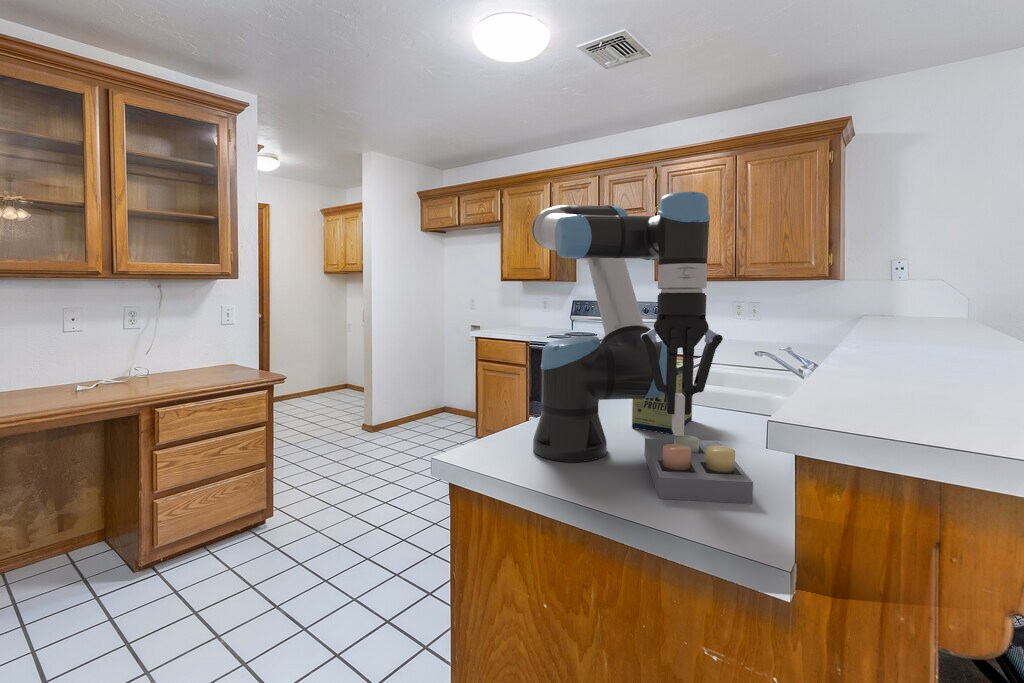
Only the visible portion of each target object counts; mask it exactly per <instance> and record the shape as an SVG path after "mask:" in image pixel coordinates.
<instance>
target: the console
mask: <svg viewBox="0 0 1024 683" xmlns="http://www.w3.org/2000/svg"><path fill="white" fill-rule="evenodd" d="M666 444H674V439H673V438H656V437H655V438H650V437H644V450H643V451H644V453H643V454H644V458H645V461H646V464H647V467H648V470H649V473H650V476H651V479H652V483H653V484H654V485H653V486H654V487H655V491H656V495H657V497H658V500H659V499H660V500H661V499H662V500H676V501H677V500H678V501H694V502H695V501H696V502H710V503H711V502H715V503H731V504H746V505H748V504H749V505H750V504H751V505H752V504H753V494H754V493H753V492H754V491H753V490H754V489H753V488H754V482H753V481H752V479H751V478H750V476H749V475H748V474H747V473H746V472H745V471H744V469H743V468H742V467H741V466H740V465H739V463H737V461H736V460H735V469H734V471H731V472H719V471H714V470H711V469H709V468H707V467H706V449H707V447H708V446H714V445H717V446H723V445H722V444H721V443H720V441H719V440H702V439H701V440H700V439H699V453H691V459H690V468H689V469H685V470H675V469H670V468H667V467H665V466H664V465H663V446H664V445H666Z"/></svg>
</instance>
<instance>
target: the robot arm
mask: <svg viewBox="0 0 1024 683" xmlns="http://www.w3.org/2000/svg"><path fill="white" fill-rule="evenodd" d="M709 202H710V201H709V196H708V195H707V194H706V193H704V192H699V191H679V192H677V191H676V192H672V193H668V194H667V193H666V194H665V195H663V196H662V197H661V199H660V202H659V209H658V212H657V213H658V214H657V215H629V214H628V212H627V211H626V210H625V209H624V208H623V207H622V206H618V205H610V204H603V205H590V204H589V205H586V204H584V205H583V204H581V205H579V204H574V205H573V204H572V205H571V204H559V205H554V206H550V207H548V208H546V209H543V210H542V211H540V212H539V213H538V214H537V215H536V216H535V218H534V220H533V222H532V224H531V225H532V227H531V233H532V237H533V239H534V241H535V242H536V244H537V245H539V246H540V247H541V248H543V249H546V250H550V251H555V252H556V254H557V256H559V257H560V258H563V259H573V260H581V261H583V263H585V264H586V265H588V267H589V273H590V276H591V280H592V284H593V289H594V293H595V297H596V301H597V302H596V303H597V305H598V311H599V314H600V319H601V323H602V326H603V331H604V336H603V337H602V338H601V340H600V338H599V337H597V336H591V335H587V336H586V335H585V336H574V337H565V338H560V339H556V340H552V341H550V342H548V343H546V344H545V345H544V346H543V348H542V353H541V363H540V369H541V414H540V417H539V420H538V423H537V426H536V429H535V432H534V436H533V440H532V441H533V442H532V450H533V453H535V454H536V455H537V456H539V457H542V458H544V459H547V460H552V461H557V462H563V463H564V462H565V463H579V462H580V463H581V462H582V463H583V462H589V461H595V460H598V459H600V458H602V457H604V456H606V454H607V451H608V450H607V448H608V447H607V446H608V445H607V438H606V434H605V431H604V429H603V428H604V427H603V425H602V421H601V419H600V415H599V402H600V401H602V400H606V401H607V400H608V401H609V400H610V401H611V400H633V399H646V398H655V397H660V396H662V395H663V394H664V393H666V411H667V413H668V414H672V432H673V434H674V435H673V436H677V435H678V436H684V435H685V426H684V417H685V415H690V413H691V401H692V402H693V399H692V396H694V395H695V394H698V393H703V392H704V391H705V387H706V383H707V380H708V377H709V374H710V371H711V367H712V363H713V360H714V356H715V353H716V349H718V347H719V346H720V344H721V343H722V341H723V340H724V336H722V335H721V334H719V333H716V332H714V331H713V330H712V329H709V327H710V326H709V324H708V321H707V317H706V316H707V294H706V293H705V292H703V290H706V289H707V286H708V284H707V282H708V281H707V280H708V256H709V254H708V253H709V236H710V235H709V234H710V219H711V216H710V208H709V207H710V204H709ZM625 259H641V260H646V261H657V260H658V264H657V265H658V270H657V289H658V290H661V291H660V292H659V293H658V294H657V302H656V303H657V305H656V308H657V309H656V310H657V311H656V320H655V322H654V323H653V327H652V328H651V327H649V326H647V325H645V324H644V321H643V316H642V315H641V311H640V308H639V304H638V301H637V297H636V296H637V295H636V293H635V290H634V287H633V284H632V280H631V276H630V273H629V270H628V266H627V263H626V260H625ZM657 336H658V337H659V338H660V340H661V341H657ZM704 336H705V337H704ZM702 338H704V342H705V345H704V348H703V350H702V354H701V357H700V361H699V363H698V368H697V372H696V375H695V379H694V371H693V361H694V355H695V347H696V346H697V345H698V344H699V343H700V341H702ZM681 348H682V351H681V352H682V360H683V371H682V391H683V392H682V393H676V372H677V359H678V353H679V352H678V349H681Z"/></svg>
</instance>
